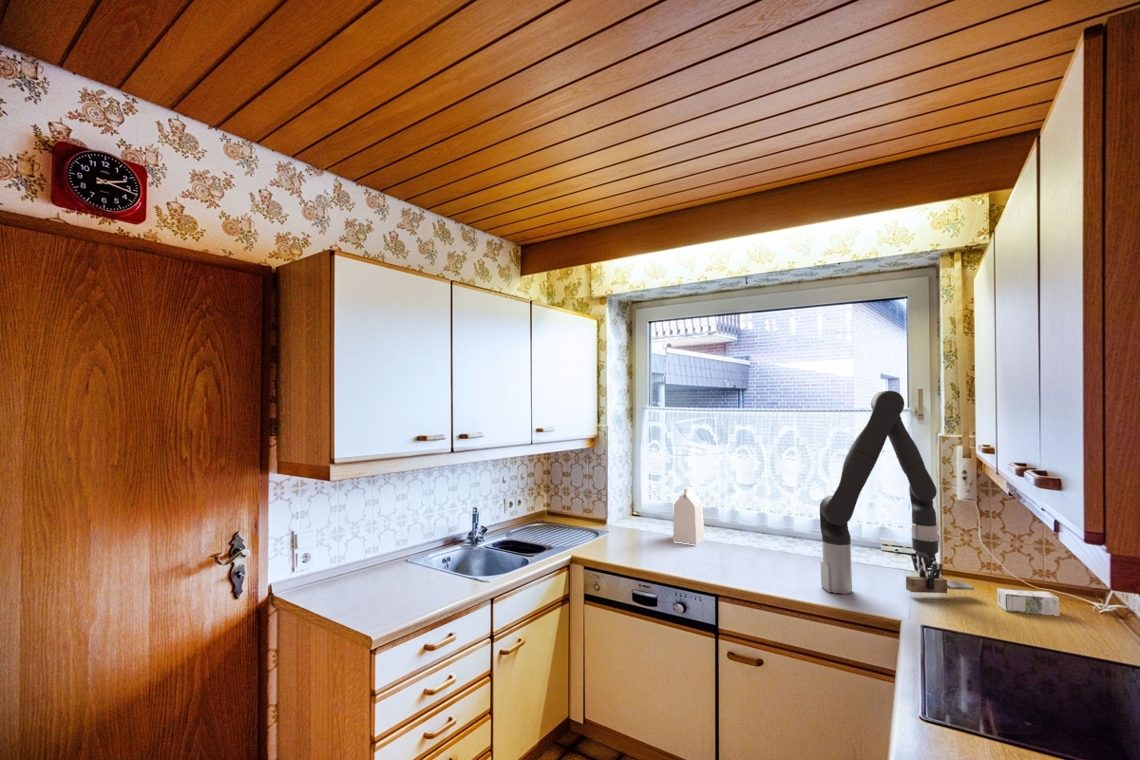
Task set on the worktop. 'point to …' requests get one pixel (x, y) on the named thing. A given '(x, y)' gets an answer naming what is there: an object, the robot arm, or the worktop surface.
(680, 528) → the milk
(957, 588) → the turner
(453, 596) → the worktop surface
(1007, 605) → the syrup box
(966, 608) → the worktop surface
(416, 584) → the worktop surface
